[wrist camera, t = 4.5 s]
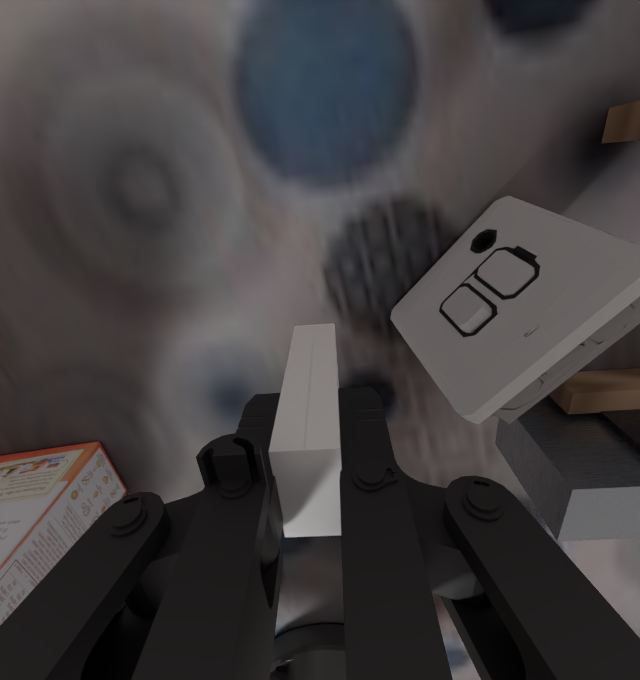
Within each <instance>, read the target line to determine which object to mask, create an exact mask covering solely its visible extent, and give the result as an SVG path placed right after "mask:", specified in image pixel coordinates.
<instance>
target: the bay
mask: <svg viewBox="0 0 640 680" xmlns="http://www.w3.org/2000/svg"><path fill="white" fill-rule="evenodd" d="M634 140H640V100H639V101H635V102H631V103H627V104H623V105H618V106H614V107H610V108H609V111H608V116H607V120H606V125H605V129H604V134H603V138H602V143H613V142H624V141H634ZM602 143H601V144H602ZM548 395H549V396H550V397H551V398H552V399H553V400H554V401H555V402H556V403H557V404H558V405H559V406H560V407H561V408H562V409H563V410H564V411H565V412H566V413H567V414H583V413H600V411H614V410H631V409H640V368H629V369H613V370H597V371H581V372H576V373H575V374H574V375H573V376H571V377H570V378H569V379H567V380H566V381H565V382H563V383H562V384H561V385H560V386H558V387H557V388H556V389H554V390H553V391H552V392H550V393H549V394H548Z"/></svg>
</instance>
